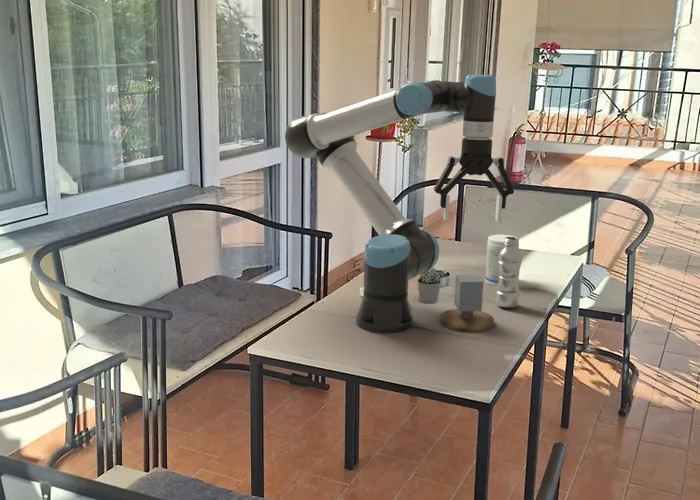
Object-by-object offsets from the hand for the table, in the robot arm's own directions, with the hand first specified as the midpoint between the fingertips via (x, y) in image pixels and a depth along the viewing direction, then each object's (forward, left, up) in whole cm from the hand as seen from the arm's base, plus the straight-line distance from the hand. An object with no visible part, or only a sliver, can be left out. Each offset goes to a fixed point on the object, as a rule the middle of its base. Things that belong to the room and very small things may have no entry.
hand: (471, 220), depth 203 cm
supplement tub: (+18, +35, -28) cm, 48 cm away
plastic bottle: (+15, +13, -28) cm, 34 cm away
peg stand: (0, 0, -28) cm, 28 cm away
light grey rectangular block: (0, 0, -24) cm, 24 cm away
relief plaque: (-20, +18, -29) cm, 39 cm away
